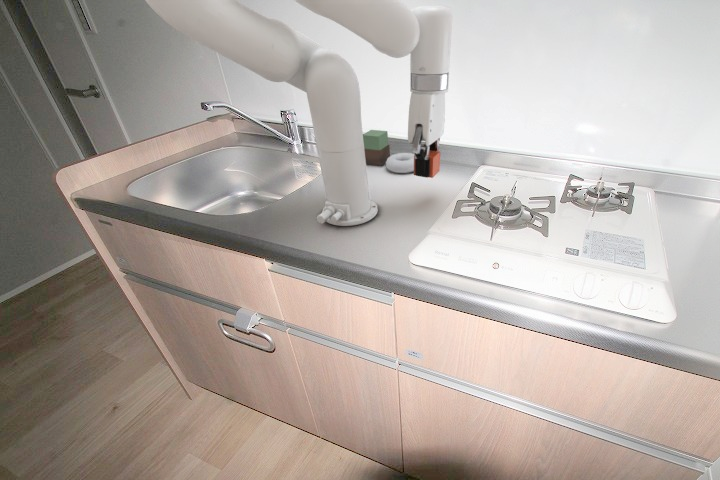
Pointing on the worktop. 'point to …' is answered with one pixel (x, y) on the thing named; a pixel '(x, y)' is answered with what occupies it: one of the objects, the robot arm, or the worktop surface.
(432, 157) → the toy cube
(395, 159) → the donut
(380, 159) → the stack base
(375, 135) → the stack middle
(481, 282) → the worktop surface
